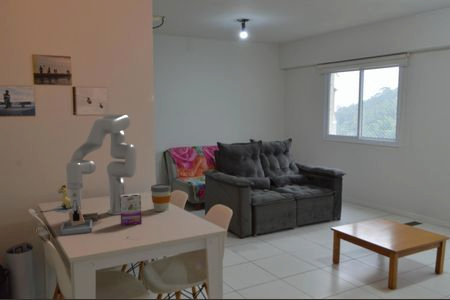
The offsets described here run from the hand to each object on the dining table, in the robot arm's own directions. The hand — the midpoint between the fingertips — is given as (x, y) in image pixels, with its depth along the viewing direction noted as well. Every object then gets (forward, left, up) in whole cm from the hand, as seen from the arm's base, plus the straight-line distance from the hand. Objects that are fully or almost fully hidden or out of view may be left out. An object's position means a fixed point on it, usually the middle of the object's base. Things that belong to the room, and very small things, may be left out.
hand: (76, 219), depth 200 cm
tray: (0, 0, -5) cm, 5 cm away
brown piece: (-3, -18, -5) cm, 19 cm away
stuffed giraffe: (+9, -48, -6) cm, 49 cm away
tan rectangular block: (-1, 0, -2) cm, 2 cm away
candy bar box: (-28, -2, -5) cm, 29 cm away
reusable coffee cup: (-48, -27, -5) cm, 55 cm away
